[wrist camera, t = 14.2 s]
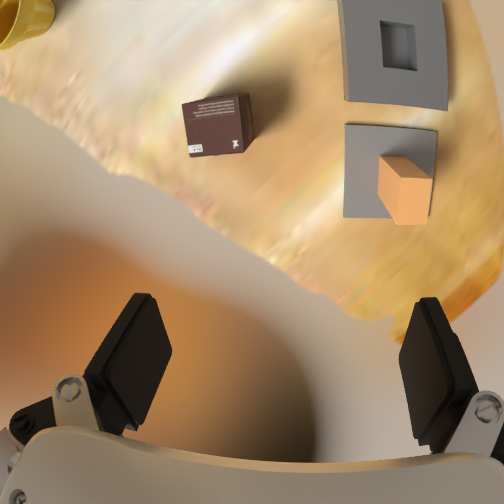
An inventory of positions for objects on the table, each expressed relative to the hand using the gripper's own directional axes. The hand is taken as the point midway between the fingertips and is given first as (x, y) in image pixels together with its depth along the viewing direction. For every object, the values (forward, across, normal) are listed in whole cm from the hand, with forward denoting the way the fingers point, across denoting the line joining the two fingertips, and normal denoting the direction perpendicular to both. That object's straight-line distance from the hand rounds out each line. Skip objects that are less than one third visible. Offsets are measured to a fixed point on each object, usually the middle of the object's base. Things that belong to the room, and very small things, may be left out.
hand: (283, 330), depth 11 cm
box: (+31, +8, -4) cm, 32 cm away
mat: (+30, -12, +3) cm, 33 cm away
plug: (+30, -12, +3) cm, 32 cm away
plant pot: (+31, +36, -27) cm, 54 cm away
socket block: (+30, -12, -13) cm, 35 cm away
